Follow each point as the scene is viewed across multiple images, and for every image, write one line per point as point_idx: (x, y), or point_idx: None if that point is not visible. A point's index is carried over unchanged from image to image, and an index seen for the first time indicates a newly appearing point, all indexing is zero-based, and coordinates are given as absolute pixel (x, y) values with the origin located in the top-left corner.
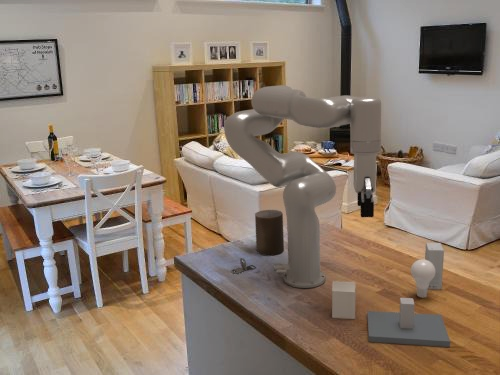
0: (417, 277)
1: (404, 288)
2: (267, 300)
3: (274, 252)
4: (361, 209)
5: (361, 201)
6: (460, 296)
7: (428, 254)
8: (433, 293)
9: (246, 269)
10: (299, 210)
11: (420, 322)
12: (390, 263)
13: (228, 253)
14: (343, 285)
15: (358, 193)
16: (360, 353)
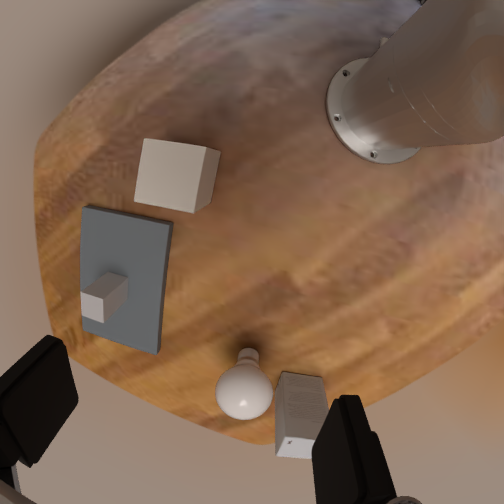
0: (224, 372)
1: (293, 334)
2: (270, 13)
3: None
4: (18, 366)
5: (334, 440)
6: None
7: (285, 428)
8: None
9: (422, 3)
10: None
11: (128, 312)
12: (415, 336)
13: None
14: (174, 174)
15: (356, 489)
16: (63, 184)
